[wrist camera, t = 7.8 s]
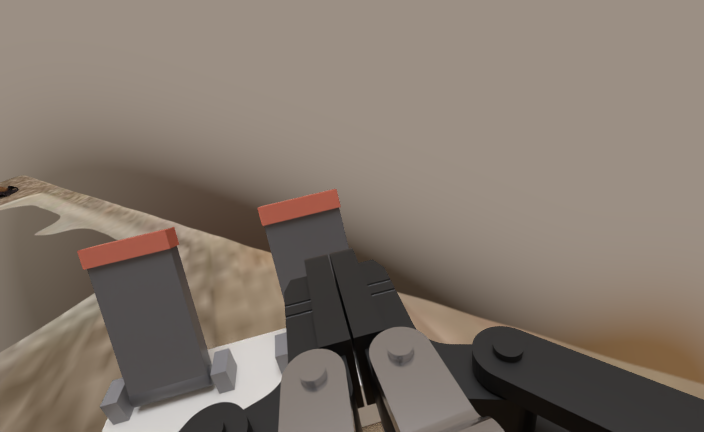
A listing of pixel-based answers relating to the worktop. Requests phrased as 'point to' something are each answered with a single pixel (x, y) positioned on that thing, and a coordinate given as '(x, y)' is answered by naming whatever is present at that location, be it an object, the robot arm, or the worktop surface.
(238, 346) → the white paddle base
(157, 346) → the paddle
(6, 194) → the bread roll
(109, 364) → the worktop surface
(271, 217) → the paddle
